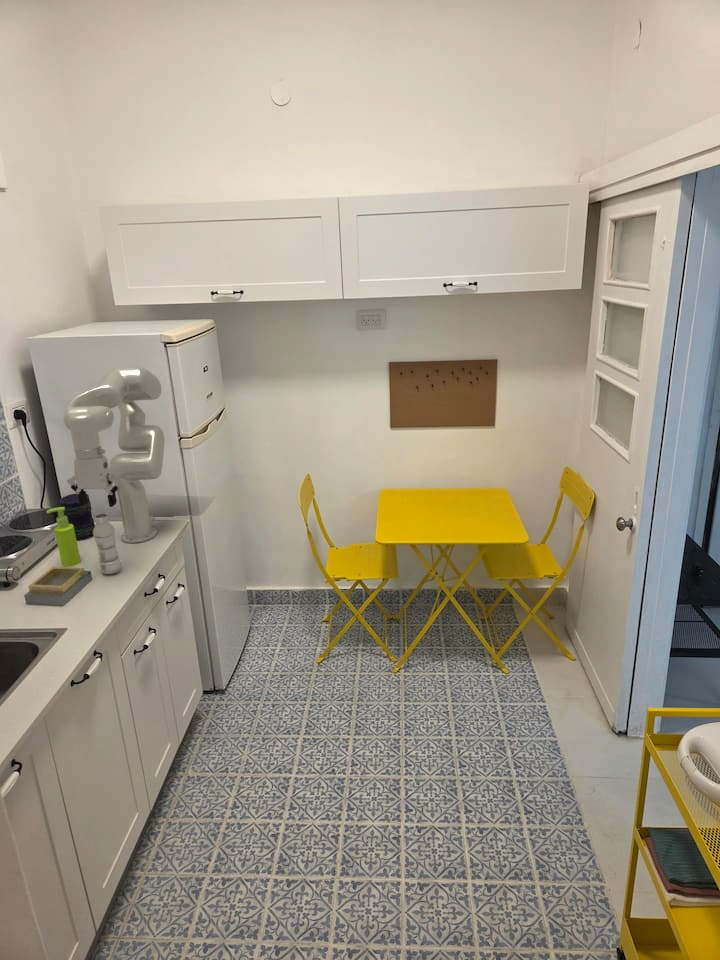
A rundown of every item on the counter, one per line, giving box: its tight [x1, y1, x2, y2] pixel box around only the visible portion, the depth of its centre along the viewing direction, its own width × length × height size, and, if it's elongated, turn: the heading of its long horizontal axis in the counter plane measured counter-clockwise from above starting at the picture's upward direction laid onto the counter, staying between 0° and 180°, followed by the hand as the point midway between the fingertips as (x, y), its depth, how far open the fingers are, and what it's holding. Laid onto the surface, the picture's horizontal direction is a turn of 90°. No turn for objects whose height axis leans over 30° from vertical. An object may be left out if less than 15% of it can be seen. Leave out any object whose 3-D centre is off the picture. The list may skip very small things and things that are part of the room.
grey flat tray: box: [23, 566, 93, 607], centre depth 192 cm, size 16×12×5 cm
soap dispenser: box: [46, 506, 81, 568], centre depth 208 cm, size 6×7×20 cm
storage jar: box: [59, 493, 96, 542], centre depth 229 cm, size 10×10×15 cm
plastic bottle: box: [93, 513, 122, 575], centre depth 200 cm, size 6×7×20 cm
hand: (98, 505), depth 195 cm, fingers open, 9 cm apart
